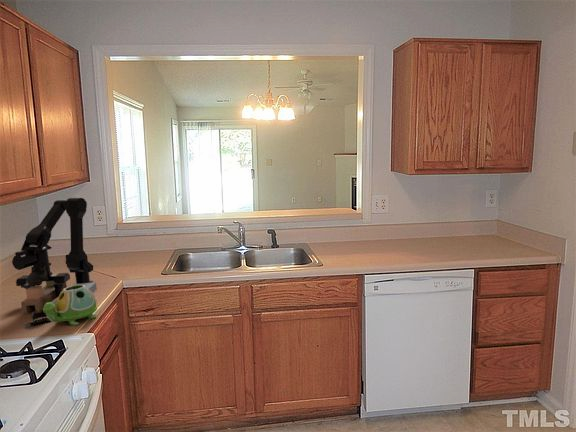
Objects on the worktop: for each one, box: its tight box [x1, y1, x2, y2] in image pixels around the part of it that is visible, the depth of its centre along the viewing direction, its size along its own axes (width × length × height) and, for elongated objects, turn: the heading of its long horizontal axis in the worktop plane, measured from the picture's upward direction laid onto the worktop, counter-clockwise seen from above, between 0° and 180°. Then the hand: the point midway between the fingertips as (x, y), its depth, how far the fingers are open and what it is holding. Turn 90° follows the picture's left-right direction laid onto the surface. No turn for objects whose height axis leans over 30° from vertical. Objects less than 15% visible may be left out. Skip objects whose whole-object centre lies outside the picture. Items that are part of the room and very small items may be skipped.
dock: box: [52, 282, 98, 313], centre depth 174 cm, size 25×9×3 cm, turn 5°
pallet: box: [20, 282, 68, 315], centre depth 174 cm, size 24×6×5 cm, turn 5°
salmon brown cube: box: [25, 285, 43, 300], centre depth 165 cm, size 4×4×4 cm
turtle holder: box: [43, 284, 98, 326], centre depth 152 cm, size 12×18×12 cm
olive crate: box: [45, 273, 58, 287], centre depth 180 cm, size 4×4×4 cm
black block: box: [23, 310, 53, 330], centre depth 153 cm, size 12×7×5 cm, turn 129°
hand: (46, 299), depth 174 cm, fingers open, 8 cm apart
